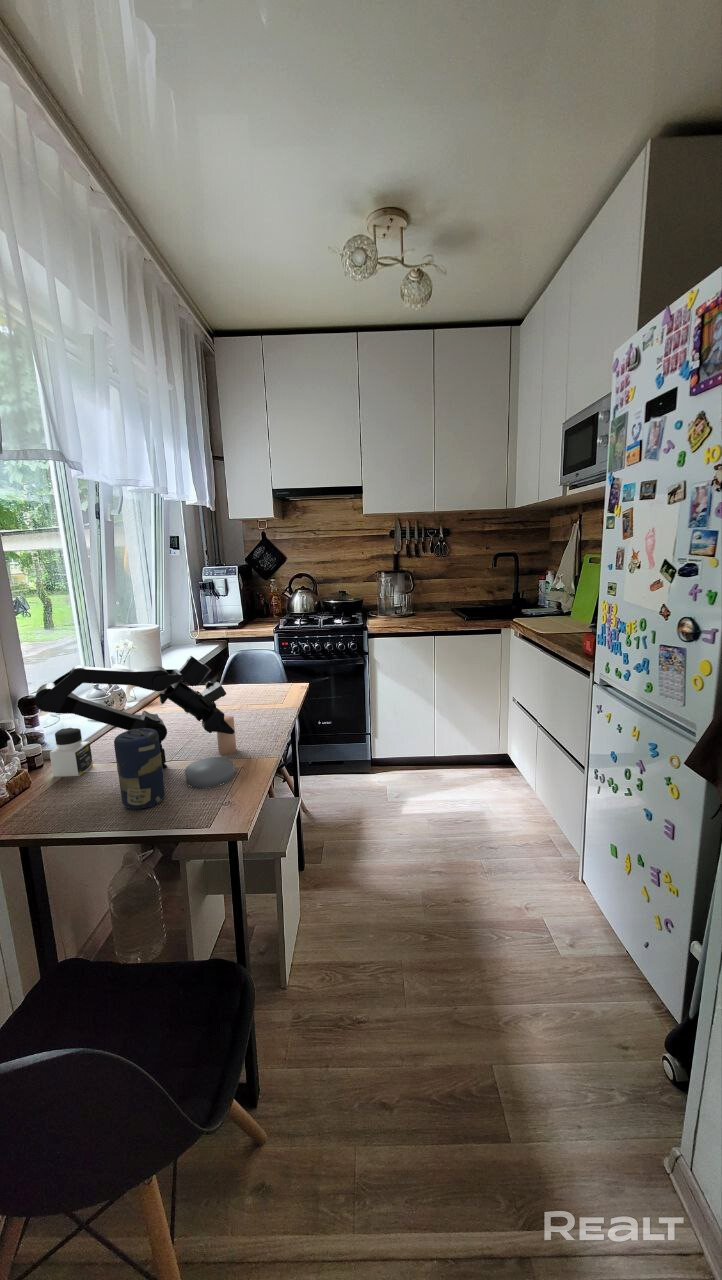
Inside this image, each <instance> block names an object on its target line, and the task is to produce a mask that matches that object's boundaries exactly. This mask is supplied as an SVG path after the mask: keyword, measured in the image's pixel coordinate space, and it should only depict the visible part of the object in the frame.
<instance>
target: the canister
mask: <svg viewBox="0 0 722 1280" xmlns="http://www.w3.org/2000/svg"><path fill="white" fill-rule="evenodd" d="M113 746H114V753H115V762H116V769H117V775H118V781H119V782H118V783H119V789H120V796H121V803H122V804H123V806H124V807H126V808H128V809H131V810H139V809H140V810H141V809H146V808H150V807H152V806H154V805H156V804H158V803H160V802H161V801H162V800H163V799H164V797H165V796H166V790H165V778H164V777H165V776H164V768H163V766H162V758H161V754H162V753H161V752H160V744H159V735H158V732H157V731H156V730H154V729H149V728H139V729H133V730H129V731H128V730H125V731H123V732H121V733H119V734H118V735H116V737H114V740H113Z"/></svg>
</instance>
